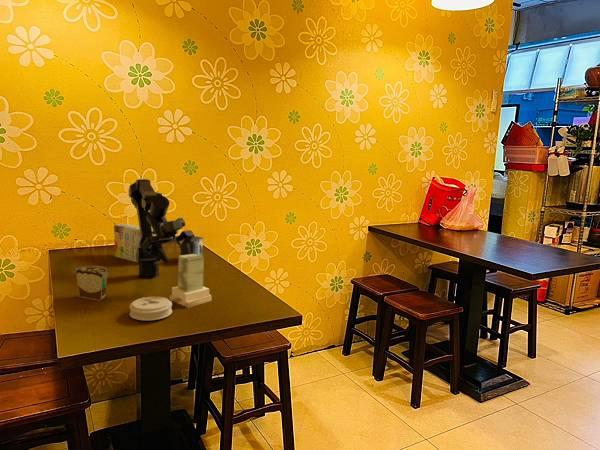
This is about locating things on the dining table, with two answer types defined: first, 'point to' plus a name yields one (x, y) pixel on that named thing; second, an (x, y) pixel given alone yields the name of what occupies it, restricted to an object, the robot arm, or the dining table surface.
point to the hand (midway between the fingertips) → (179, 260)
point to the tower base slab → (192, 302)
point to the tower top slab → (190, 293)
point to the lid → (150, 308)
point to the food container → (92, 282)
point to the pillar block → (190, 272)
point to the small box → (196, 246)
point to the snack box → (126, 241)
